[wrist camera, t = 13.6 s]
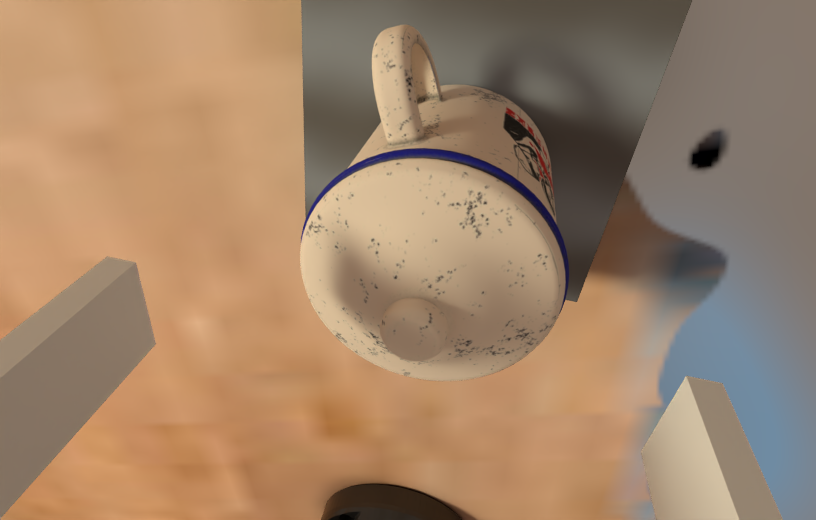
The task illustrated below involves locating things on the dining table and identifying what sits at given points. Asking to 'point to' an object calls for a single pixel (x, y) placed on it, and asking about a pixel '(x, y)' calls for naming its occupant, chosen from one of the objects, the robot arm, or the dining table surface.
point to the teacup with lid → (438, 228)
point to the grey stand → (504, 86)
